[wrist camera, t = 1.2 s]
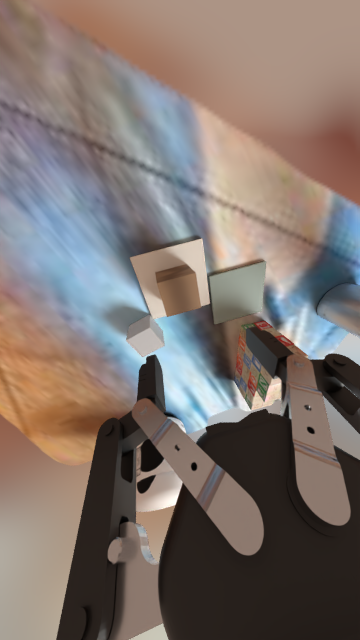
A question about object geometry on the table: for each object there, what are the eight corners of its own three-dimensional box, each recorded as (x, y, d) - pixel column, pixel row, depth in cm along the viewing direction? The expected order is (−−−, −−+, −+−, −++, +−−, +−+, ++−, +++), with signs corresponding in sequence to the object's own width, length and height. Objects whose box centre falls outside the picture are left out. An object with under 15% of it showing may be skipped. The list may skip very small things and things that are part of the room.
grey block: (149, 313, 31) (149, 327, 26) (162, 330, 33) (164, 345, 29) (129, 325, 31) (125, 340, 27) (143, 341, 34) (142, 357, 30)
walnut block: (186, 263, 26) (195, 272, 21) (192, 293, 29) (201, 307, 24) (155, 272, 26) (156, 283, 21) (164, 301, 29) (167, 316, 24)
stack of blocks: (252, 376, 48) (280, 417, 38) (233, 380, 48) (257, 423, 37) (265, 319, 37) (310, 356, 26) (240, 324, 36) (276, 363, 26)
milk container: (186, 428, 59) (199, 498, 43) (142, 440, 58) (140, 516, 43) (178, 404, 49) (191, 483, 34) (126, 419, 48) (115, 506, 33)
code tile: (201, 238, 25) (202, 238, 24) (209, 302, 31) (210, 303, 31) (130, 257, 25) (129, 257, 24) (152, 317, 31) (152, 319, 31)
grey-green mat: (264, 260, 29) (266, 261, 28) (259, 310, 35) (261, 311, 34) (208, 276, 28) (209, 276, 28) (213, 323, 34) (214, 324, 34)
